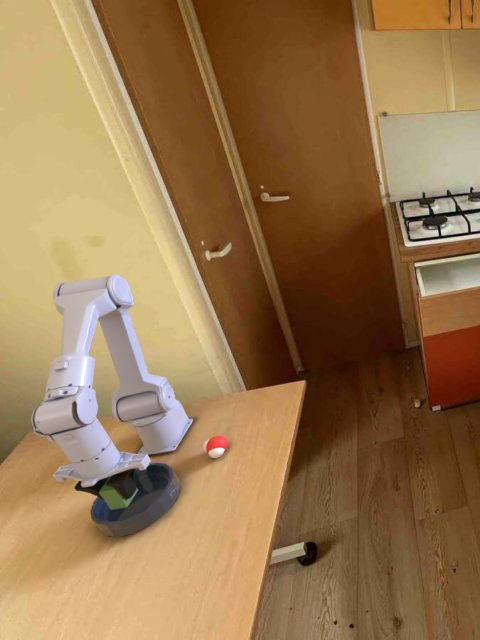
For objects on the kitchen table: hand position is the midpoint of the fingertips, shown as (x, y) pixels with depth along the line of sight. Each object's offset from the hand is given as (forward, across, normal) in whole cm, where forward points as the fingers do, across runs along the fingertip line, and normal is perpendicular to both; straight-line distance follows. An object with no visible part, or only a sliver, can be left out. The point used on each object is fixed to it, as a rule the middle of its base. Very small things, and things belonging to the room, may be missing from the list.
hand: (122, 495), depth 83 cm
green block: (+1, 0, 0) cm, 1 cm away
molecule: (+7, +10, +14) cm, 18 cm away
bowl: (+7, 0, +3) cm, 8 cm away
